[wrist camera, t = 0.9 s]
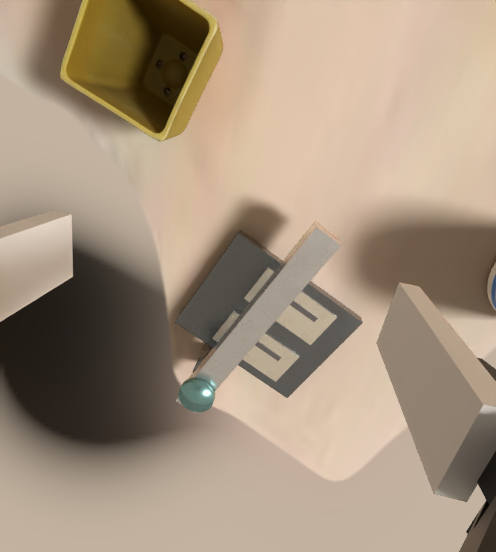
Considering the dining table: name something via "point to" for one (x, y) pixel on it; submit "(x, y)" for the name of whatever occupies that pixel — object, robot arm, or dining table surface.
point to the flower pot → (143, 60)
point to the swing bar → (259, 316)
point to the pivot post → (203, 355)
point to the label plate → (285, 330)
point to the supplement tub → (492, 287)
